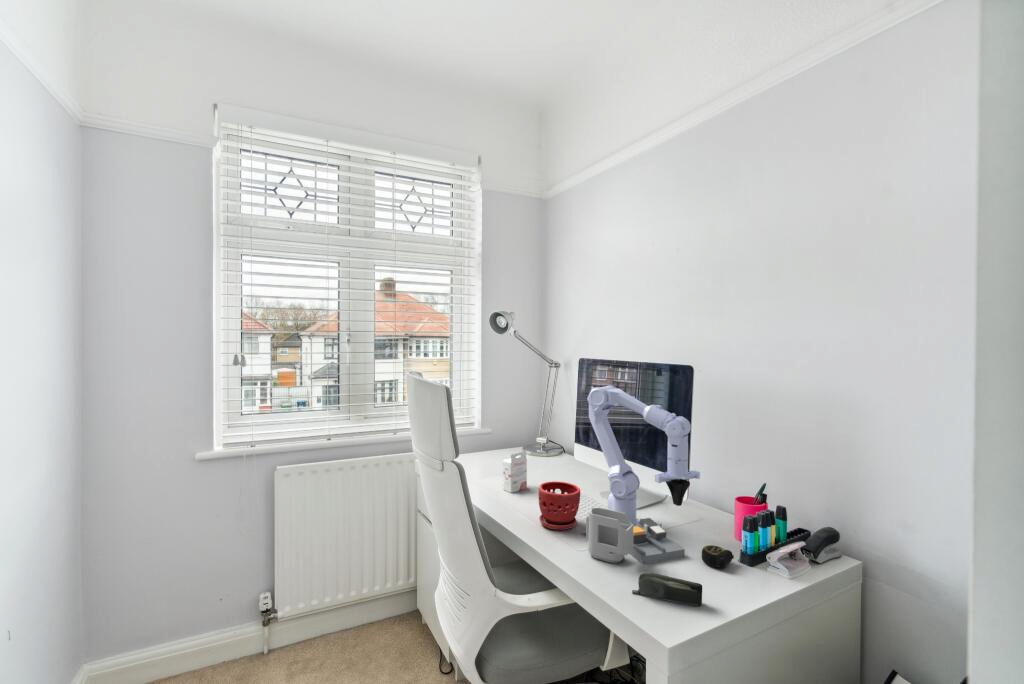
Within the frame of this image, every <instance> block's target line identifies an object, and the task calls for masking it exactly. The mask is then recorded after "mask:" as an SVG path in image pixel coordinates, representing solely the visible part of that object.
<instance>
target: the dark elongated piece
mask: <svg viewBox="0 0 1024 684" xmlns="http://www.w3.org/2000/svg"><path fill="white" fill-rule="evenodd" d="M637 583H638V590H635V589H632V590H631V592H632V594H636V595H641V596H645V597H650V598H654V599H658V600H662V601H663V600H664V601H668V602H672V603H674V604H675V603H676V604H680V605H685V606H689V607H693V608H697V607H701V606H702V604H703V584H701V583H699V582H695V581H690V580H687V579H686V580H685V579H682V578H677V577H674V576H668V575H665V574H661V573H658V572H642V573H640V574H639V576H638V581H637Z"/></svg>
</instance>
